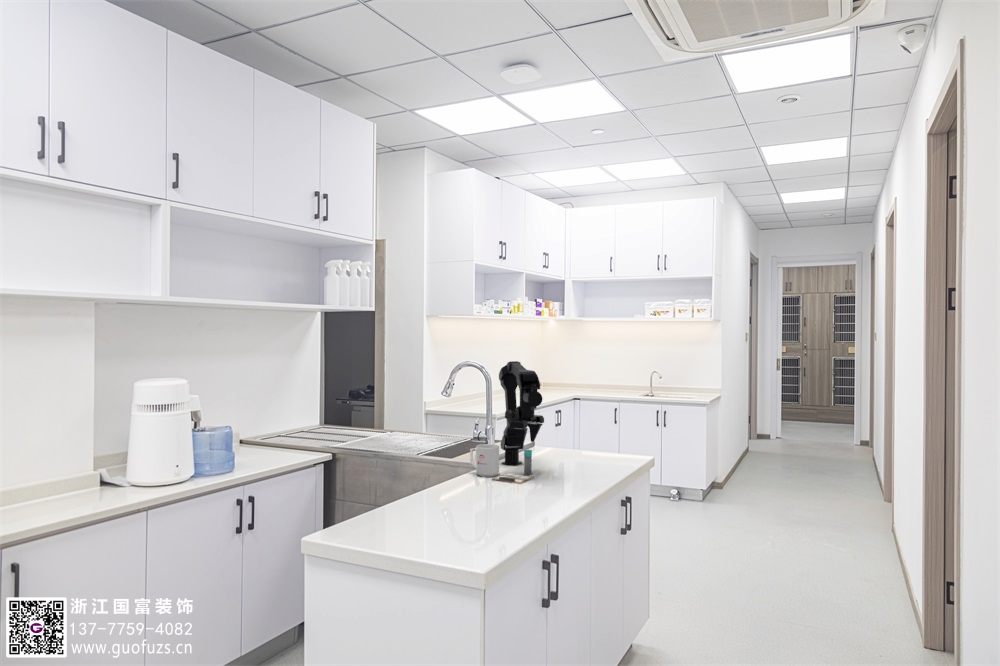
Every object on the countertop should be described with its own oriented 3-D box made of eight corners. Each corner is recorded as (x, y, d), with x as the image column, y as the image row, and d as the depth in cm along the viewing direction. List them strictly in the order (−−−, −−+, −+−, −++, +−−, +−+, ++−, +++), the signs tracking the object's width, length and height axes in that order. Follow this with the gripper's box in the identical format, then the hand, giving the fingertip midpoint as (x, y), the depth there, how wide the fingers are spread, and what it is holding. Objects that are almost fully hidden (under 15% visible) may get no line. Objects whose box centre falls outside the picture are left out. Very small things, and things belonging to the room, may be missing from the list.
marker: (526, 473, 261) (526, 449, 261) (533, 474, 260) (533, 450, 260) (522, 474, 259) (522, 450, 259) (529, 475, 257) (529, 451, 257)
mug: (503, 473, 261) (503, 445, 261) (492, 478, 253) (492, 449, 253) (476, 470, 266) (476, 442, 266) (464, 475, 258) (464, 446, 258)
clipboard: (505, 474, 259) (505, 470, 259) (533, 477, 254) (533, 474, 254) (491, 480, 250) (491, 476, 250) (520, 483, 244) (520, 480, 244)
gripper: (519, 400, 271) (519, 438, 271) (496, 404, 255) (496, 445, 255) (544, 401, 265) (544, 440, 266) (522, 406, 249) (522, 448, 249)
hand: (527, 443), depth 259 cm, fingers open, 9 cm apart
